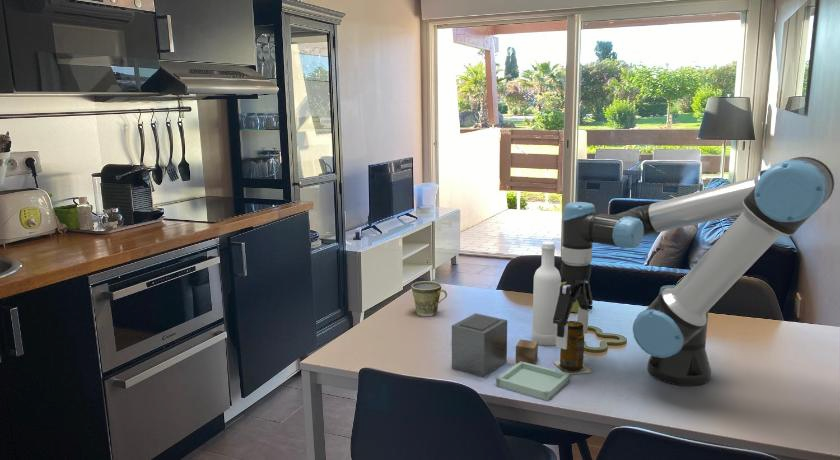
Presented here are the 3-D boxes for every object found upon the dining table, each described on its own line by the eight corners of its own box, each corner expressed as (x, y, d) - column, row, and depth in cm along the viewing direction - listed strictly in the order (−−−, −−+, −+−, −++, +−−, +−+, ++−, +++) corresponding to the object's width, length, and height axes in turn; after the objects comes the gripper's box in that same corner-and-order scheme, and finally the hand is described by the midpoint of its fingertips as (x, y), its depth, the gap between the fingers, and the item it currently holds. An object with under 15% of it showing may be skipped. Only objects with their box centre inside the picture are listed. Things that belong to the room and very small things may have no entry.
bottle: (536, 334, 191) (538, 238, 185) (561, 338, 187) (565, 240, 181) (528, 343, 184) (531, 244, 178) (555, 347, 180) (558, 246, 174)
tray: (569, 381, 159) (570, 374, 158) (547, 400, 149) (547, 393, 148) (520, 368, 167) (520, 361, 167) (496, 385, 157) (496, 378, 156)
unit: (506, 361, 171) (507, 319, 169) (484, 377, 162) (484, 332, 159) (474, 353, 177) (474, 312, 175) (450, 367, 168) (450, 324, 165)
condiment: (577, 359, 172) (579, 318, 170) (592, 372, 164) (594, 329, 162) (552, 362, 171) (554, 320, 168) (566, 375, 162) (568, 331, 160)
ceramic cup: (406, 315, 210) (405, 286, 208) (422, 307, 218) (422, 279, 216) (438, 322, 203) (438, 292, 201) (454, 313, 211) (454, 285, 209)
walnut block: (537, 358, 173) (537, 341, 172) (533, 365, 169) (534, 348, 168) (519, 356, 175) (520, 339, 174) (515, 363, 171) (515, 345, 170)
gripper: (581, 250, 173) (577, 323, 178) (541, 270, 154) (538, 351, 158) (607, 254, 169) (603, 328, 174) (570, 275, 149) (565, 358, 154)
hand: (572, 339), depth 166 cm, fingers open, 13 cm apart
